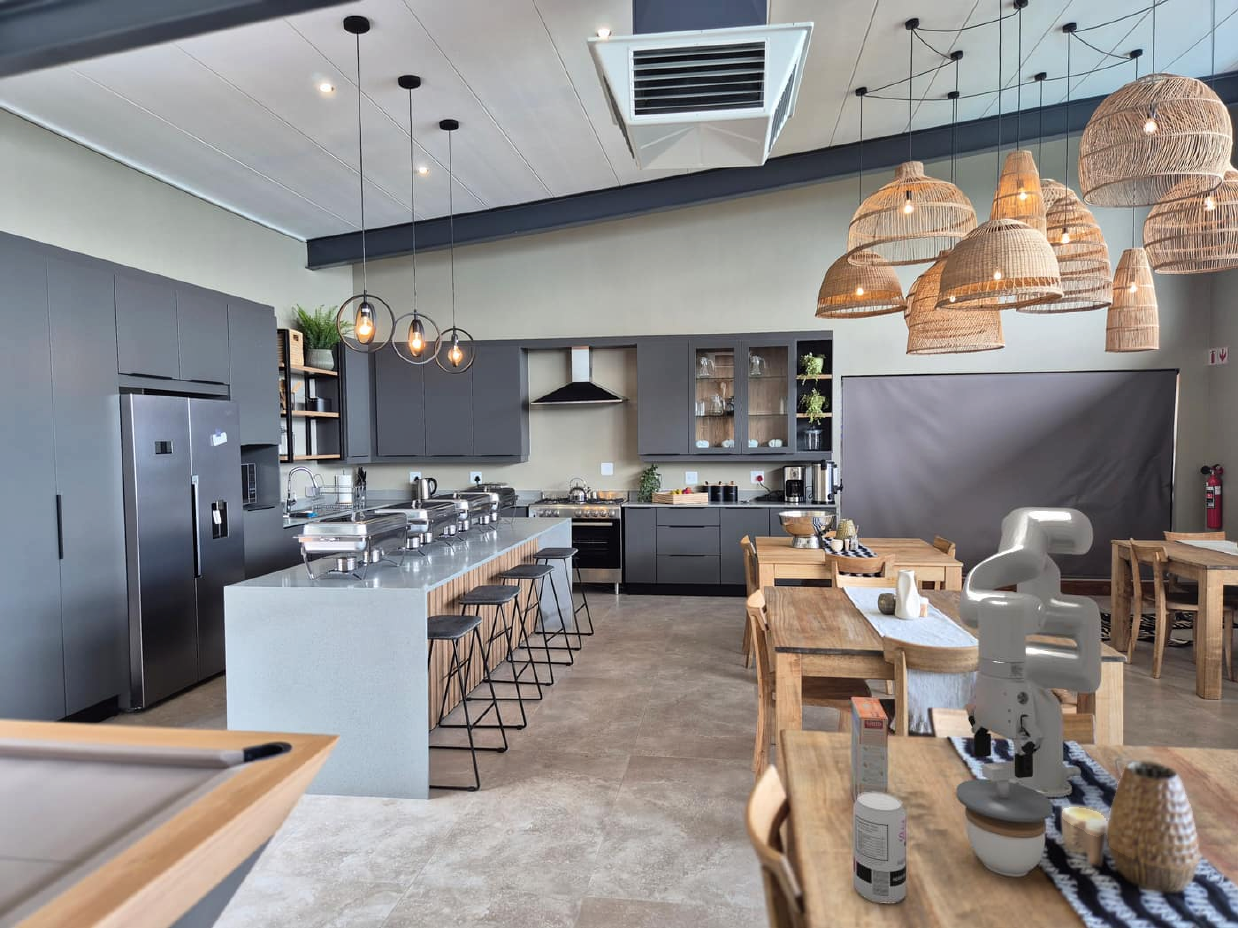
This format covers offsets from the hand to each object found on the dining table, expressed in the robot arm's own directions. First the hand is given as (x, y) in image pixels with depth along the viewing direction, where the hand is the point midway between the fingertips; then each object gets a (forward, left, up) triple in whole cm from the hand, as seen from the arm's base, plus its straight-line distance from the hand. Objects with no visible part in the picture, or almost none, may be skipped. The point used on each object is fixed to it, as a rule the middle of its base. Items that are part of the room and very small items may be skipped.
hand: (1002, 766), depth 131 cm
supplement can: (+26, +2, -18) cm, 31 cm away
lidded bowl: (0, 0, -18) cm, 18 cm away
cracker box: (+10, -26, -18) cm, 33 cm away
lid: (0, 0, -7) cm, 7 cm away
